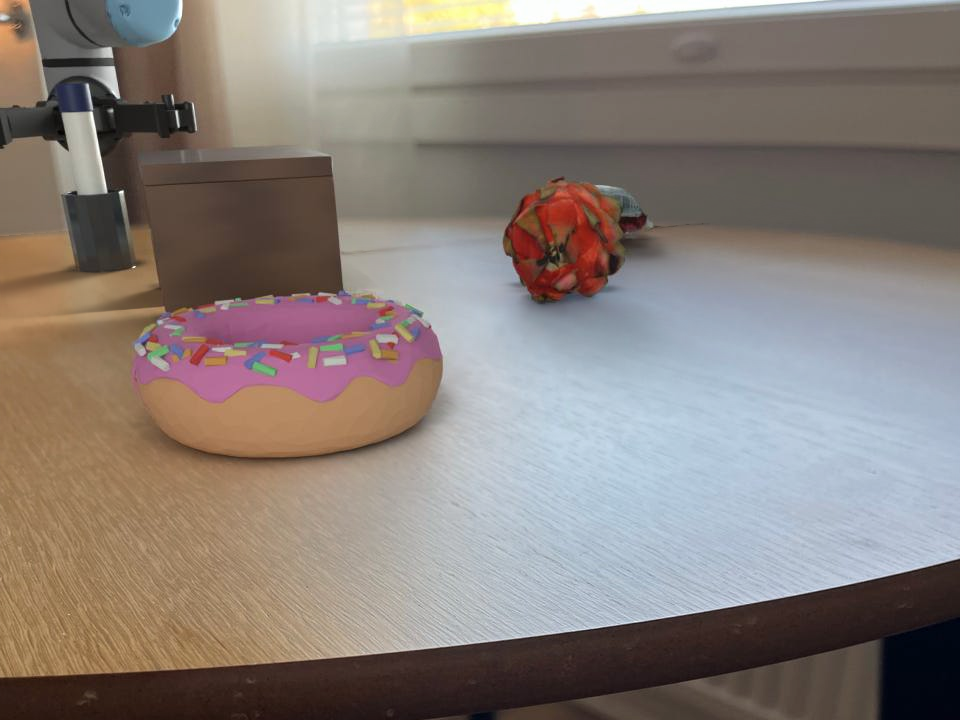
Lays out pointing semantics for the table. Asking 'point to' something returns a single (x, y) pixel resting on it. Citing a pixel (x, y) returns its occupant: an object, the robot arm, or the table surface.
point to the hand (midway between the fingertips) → (82, 124)
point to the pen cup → (99, 231)
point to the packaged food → (627, 210)
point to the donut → (288, 373)
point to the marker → (81, 137)
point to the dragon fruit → (565, 240)
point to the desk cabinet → (241, 223)
